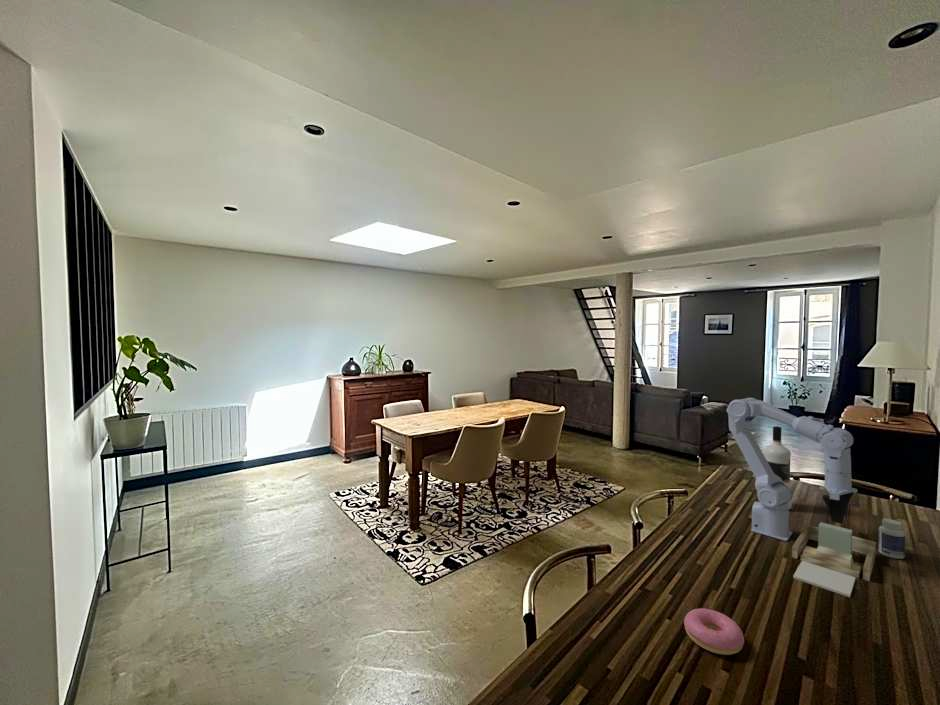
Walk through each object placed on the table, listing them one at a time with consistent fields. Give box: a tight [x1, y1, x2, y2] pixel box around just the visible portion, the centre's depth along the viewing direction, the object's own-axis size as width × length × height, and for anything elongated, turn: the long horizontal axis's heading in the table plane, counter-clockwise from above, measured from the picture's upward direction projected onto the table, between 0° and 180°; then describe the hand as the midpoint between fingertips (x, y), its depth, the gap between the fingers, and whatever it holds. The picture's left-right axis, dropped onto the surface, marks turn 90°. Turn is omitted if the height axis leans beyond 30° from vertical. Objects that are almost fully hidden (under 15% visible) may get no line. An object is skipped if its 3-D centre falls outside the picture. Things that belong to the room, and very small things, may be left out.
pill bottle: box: [878, 518, 906, 560], centre depth 119 cm, size 5×5×10 cm
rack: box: [791, 523, 877, 582], centre depth 118 cm, size 16×19×4 cm
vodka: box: [762, 426, 793, 510], centre depth 154 cm, size 9×9×30 cm
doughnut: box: [683, 607, 745, 656], centre depth 86 cm, size 11×11×4 cm
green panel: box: [817, 521, 853, 556], centre depth 119 cm, size 7×3×8 cm, turn 42°
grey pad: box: [792, 560, 856, 598], centre depth 107 cm, size 11×11×1 cm
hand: (838, 518), depth 118 cm, fingers open, 7 cm apart
